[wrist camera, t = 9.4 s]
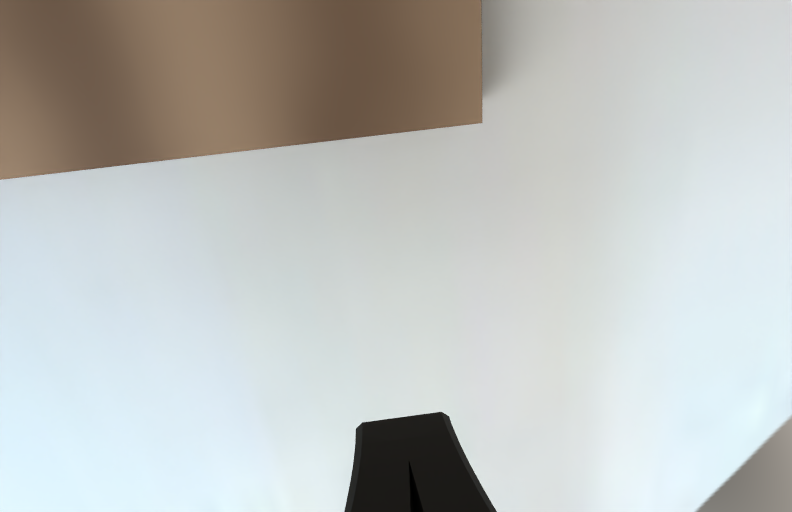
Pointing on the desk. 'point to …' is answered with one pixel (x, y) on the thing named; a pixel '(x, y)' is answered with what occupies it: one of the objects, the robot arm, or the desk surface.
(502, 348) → the desk surface
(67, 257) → the desk surface
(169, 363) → the desk surface
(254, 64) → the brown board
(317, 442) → the desk surface
